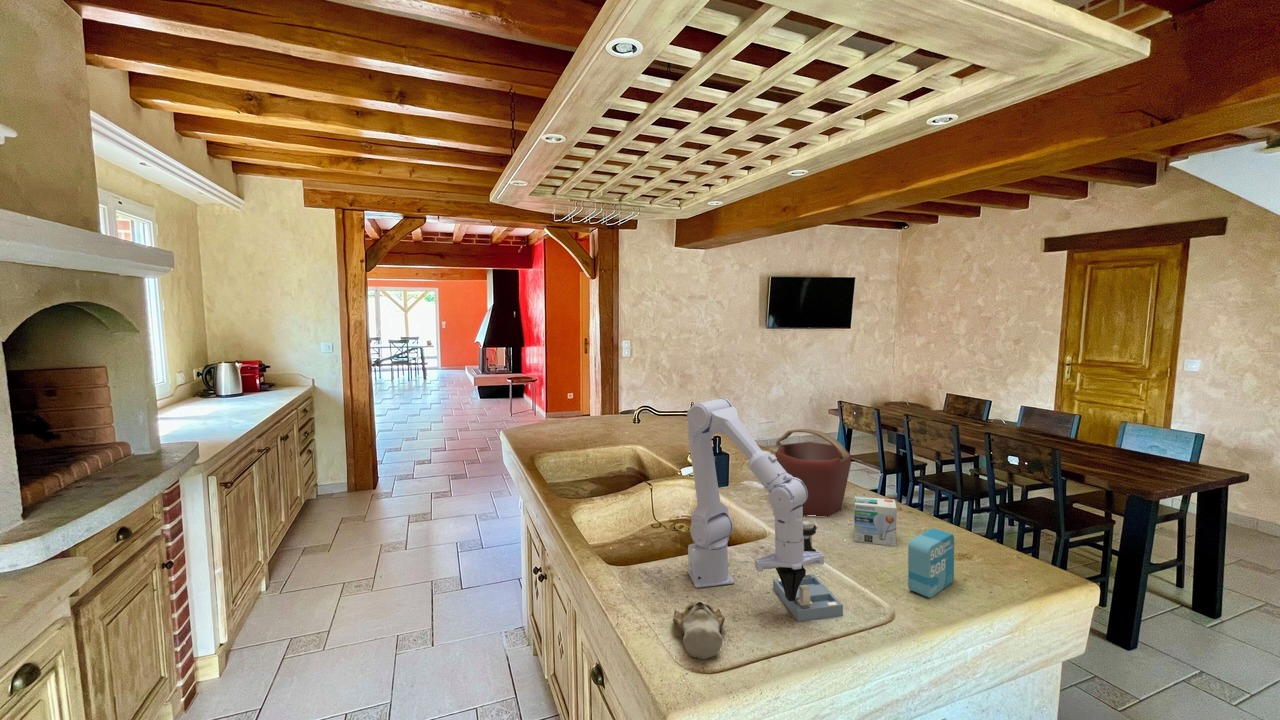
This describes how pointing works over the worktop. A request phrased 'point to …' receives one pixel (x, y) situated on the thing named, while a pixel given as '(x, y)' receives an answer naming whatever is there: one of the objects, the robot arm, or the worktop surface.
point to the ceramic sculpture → (700, 629)
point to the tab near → (804, 596)
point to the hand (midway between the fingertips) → (790, 598)
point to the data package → (930, 562)
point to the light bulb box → (875, 520)
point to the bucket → (817, 471)
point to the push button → (808, 535)
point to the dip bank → (819, 596)
